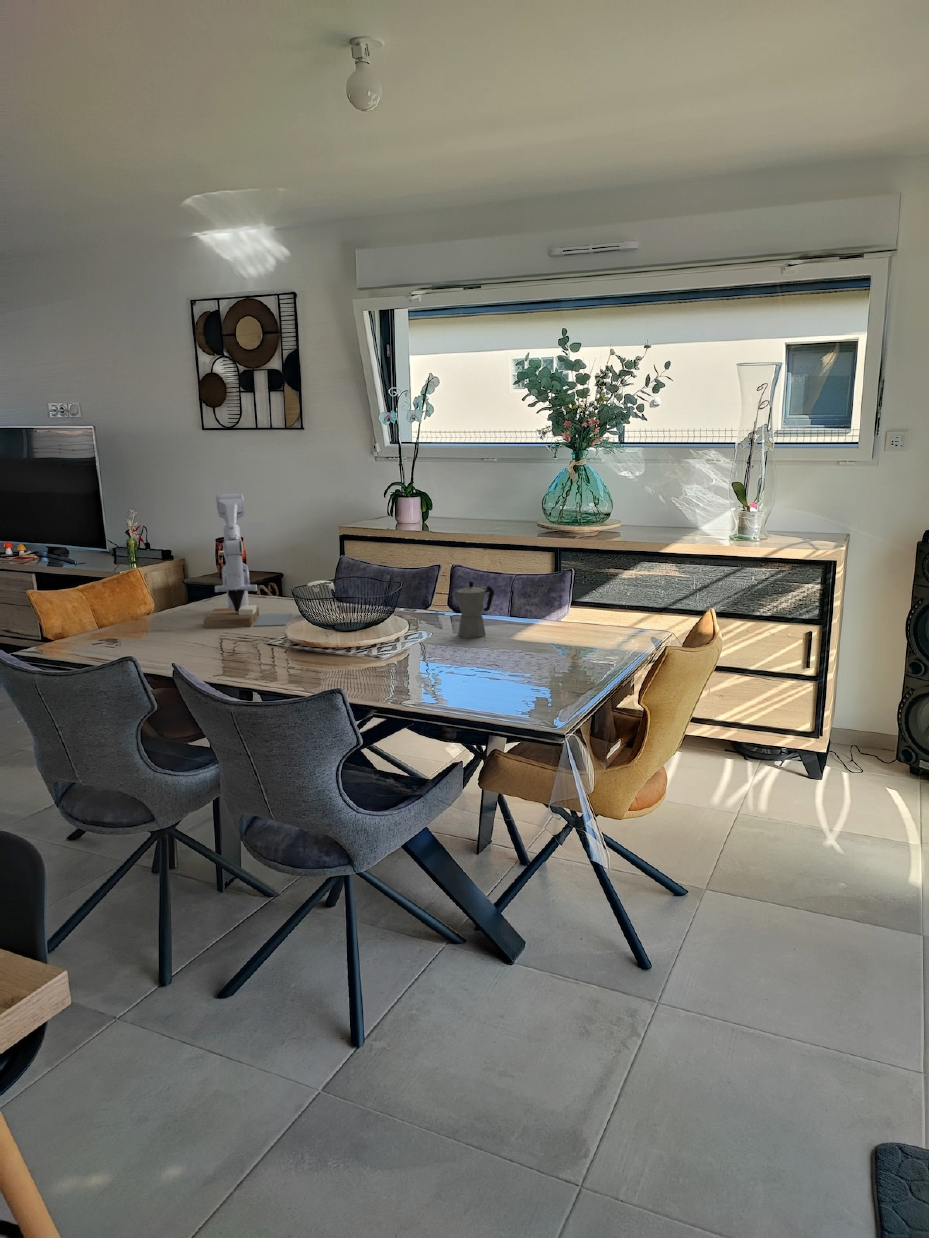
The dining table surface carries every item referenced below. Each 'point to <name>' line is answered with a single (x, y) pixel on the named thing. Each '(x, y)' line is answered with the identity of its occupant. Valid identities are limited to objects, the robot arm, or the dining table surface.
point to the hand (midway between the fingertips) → (237, 611)
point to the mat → (273, 619)
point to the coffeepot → (473, 610)
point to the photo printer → (319, 583)
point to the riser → (229, 618)
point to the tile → (247, 610)
